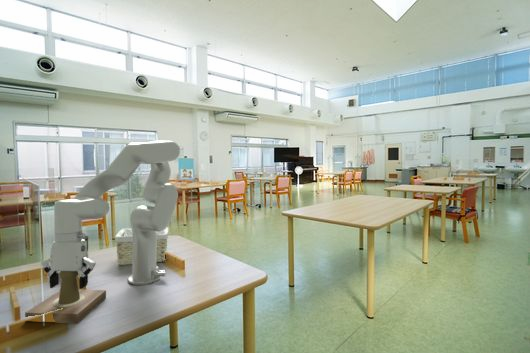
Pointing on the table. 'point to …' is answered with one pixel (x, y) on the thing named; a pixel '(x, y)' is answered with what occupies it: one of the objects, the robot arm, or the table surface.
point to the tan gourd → (68, 287)
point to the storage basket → (126, 241)
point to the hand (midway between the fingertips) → (68, 286)
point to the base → (69, 306)
